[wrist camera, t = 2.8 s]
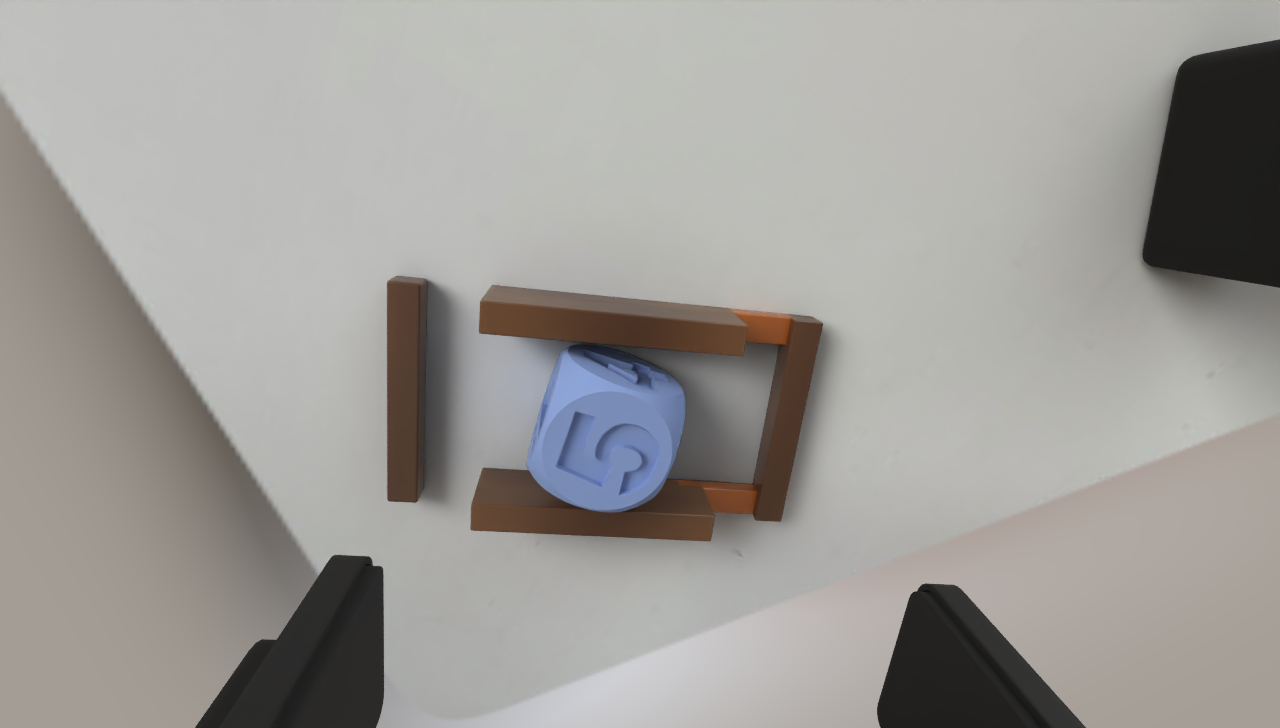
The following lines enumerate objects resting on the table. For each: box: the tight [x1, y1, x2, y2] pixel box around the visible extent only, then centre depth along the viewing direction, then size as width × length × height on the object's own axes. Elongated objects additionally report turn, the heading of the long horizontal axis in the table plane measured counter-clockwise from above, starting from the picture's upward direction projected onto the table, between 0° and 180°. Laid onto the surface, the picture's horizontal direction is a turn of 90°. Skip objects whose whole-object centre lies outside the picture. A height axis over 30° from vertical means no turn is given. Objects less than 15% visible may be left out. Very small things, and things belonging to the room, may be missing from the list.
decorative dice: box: [526, 344, 685, 513], centre depth 19 cm, size 4×4×4 cm
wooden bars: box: [387, 276, 823, 541], centre depth 20 cm, size 14×8×2 cm, turn 83°
